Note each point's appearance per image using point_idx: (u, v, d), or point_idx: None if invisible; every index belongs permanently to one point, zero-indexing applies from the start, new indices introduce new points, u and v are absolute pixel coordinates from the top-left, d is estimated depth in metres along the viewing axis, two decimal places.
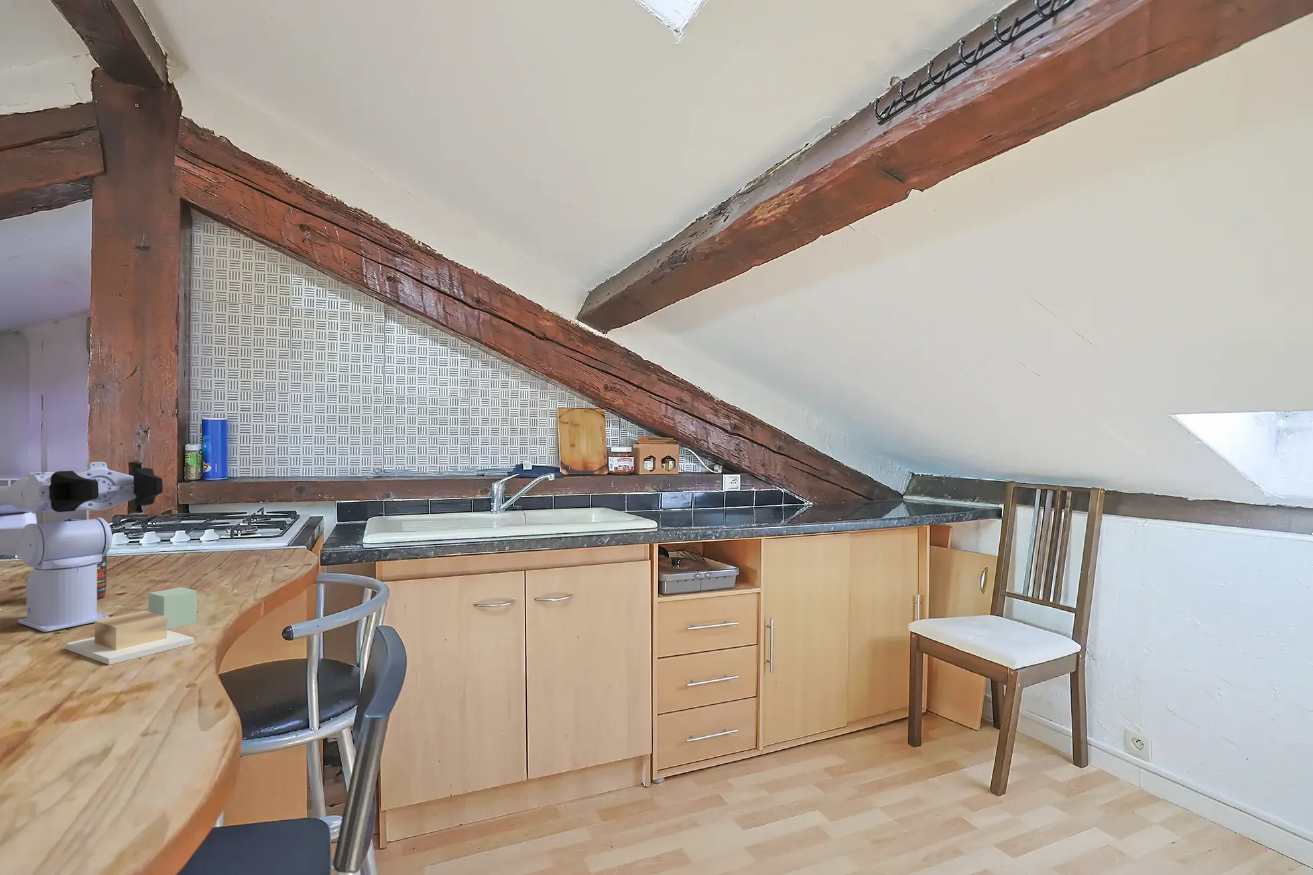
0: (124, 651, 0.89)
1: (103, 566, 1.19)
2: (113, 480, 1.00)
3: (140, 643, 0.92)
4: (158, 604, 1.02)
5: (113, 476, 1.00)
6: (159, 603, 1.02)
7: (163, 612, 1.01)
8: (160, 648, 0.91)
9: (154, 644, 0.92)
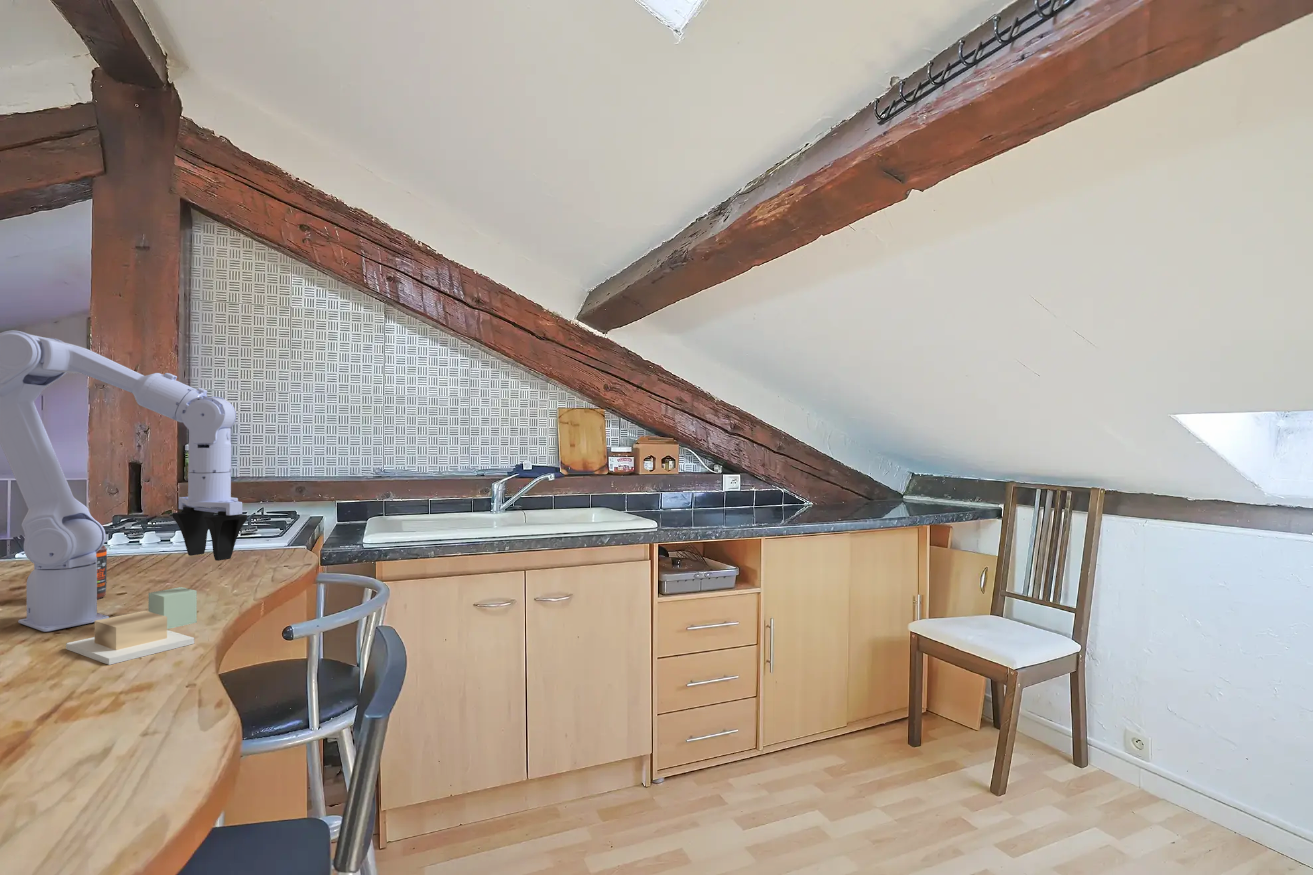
0: (124, 651, 0.89)
1: (103, 566, 1.19)
2: None
3: (140, 643, 0.92)
4: (158, 604, 1.02)
5: None
6: (159, 603, 1.02)
7: (163, 612, 1.01)
8: (160, 648, 0.91)
9: (154, 644, 0.92)
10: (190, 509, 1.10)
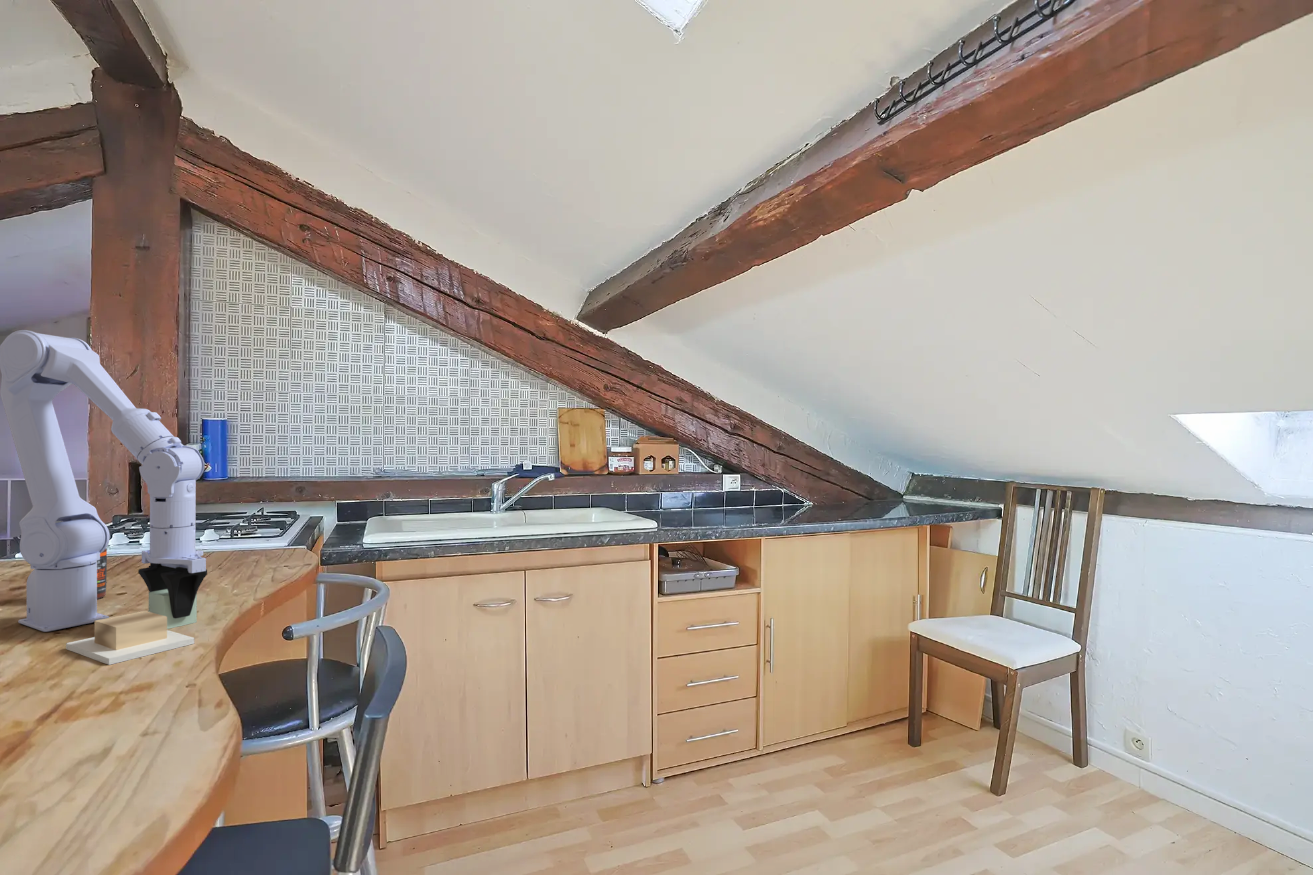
0: (124, 651, 0.89)
1: (103, 566, 1.19)
2: None
3: (140, 643, 0.92)
4: (158, 603, 1.02)
5: None
6: (159, 602, 1.02)
7: (163, 611, 1.01)
8: (160, 648, 0.91)
9: (154, 644, 0.92)
10: (153, 564, 1.05)
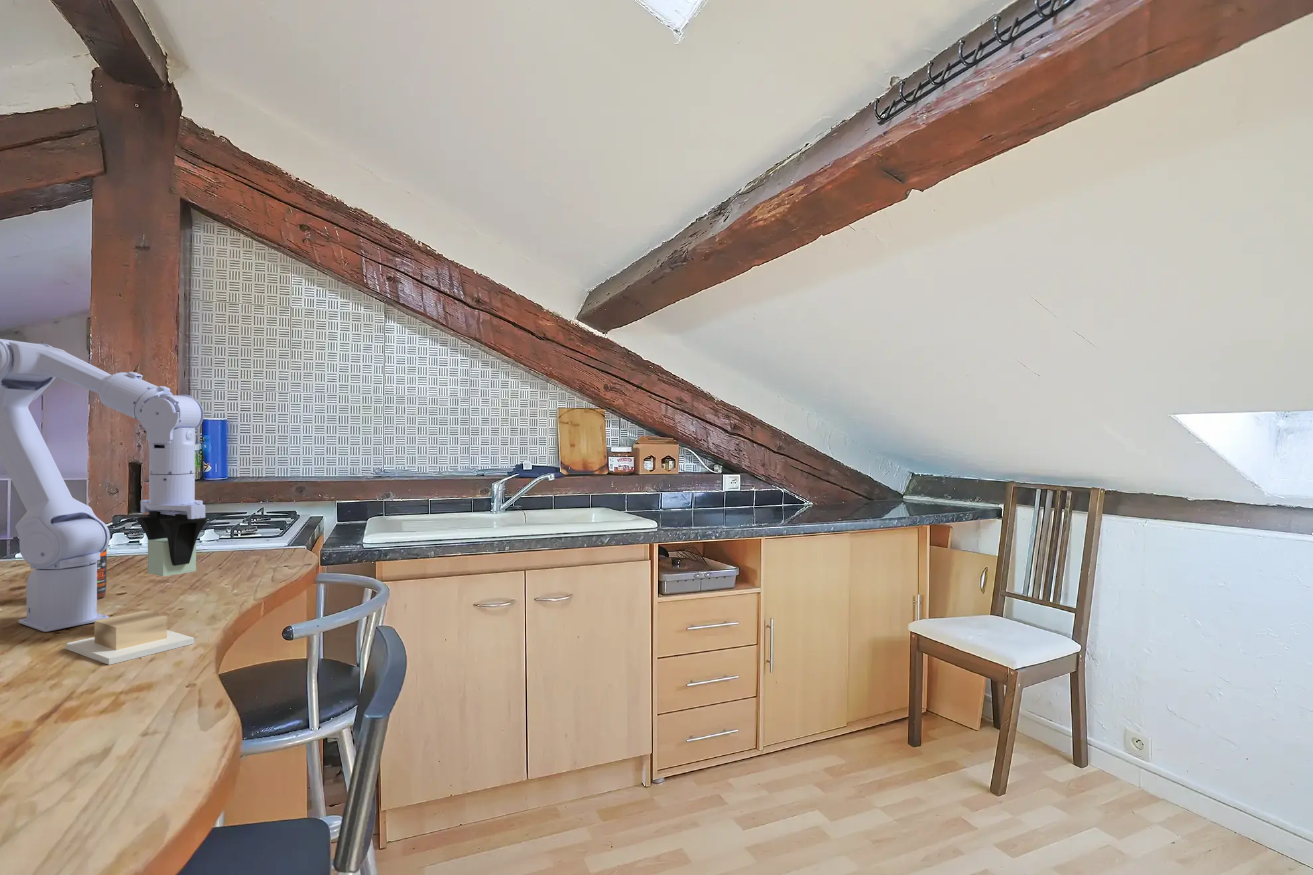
0: (124, 651, 0.89)
1: (103, 566, 1.19)
2: None
3: (140, 643, 0.92)
4: (157, 550, 1.02)
5: None
6: (158, 549, 1.02)
7: (162, 558, 1.01)
8: (160, 648, 0.91)
9: (154, 644, 0.92)
10: (152, 512, 1.05)
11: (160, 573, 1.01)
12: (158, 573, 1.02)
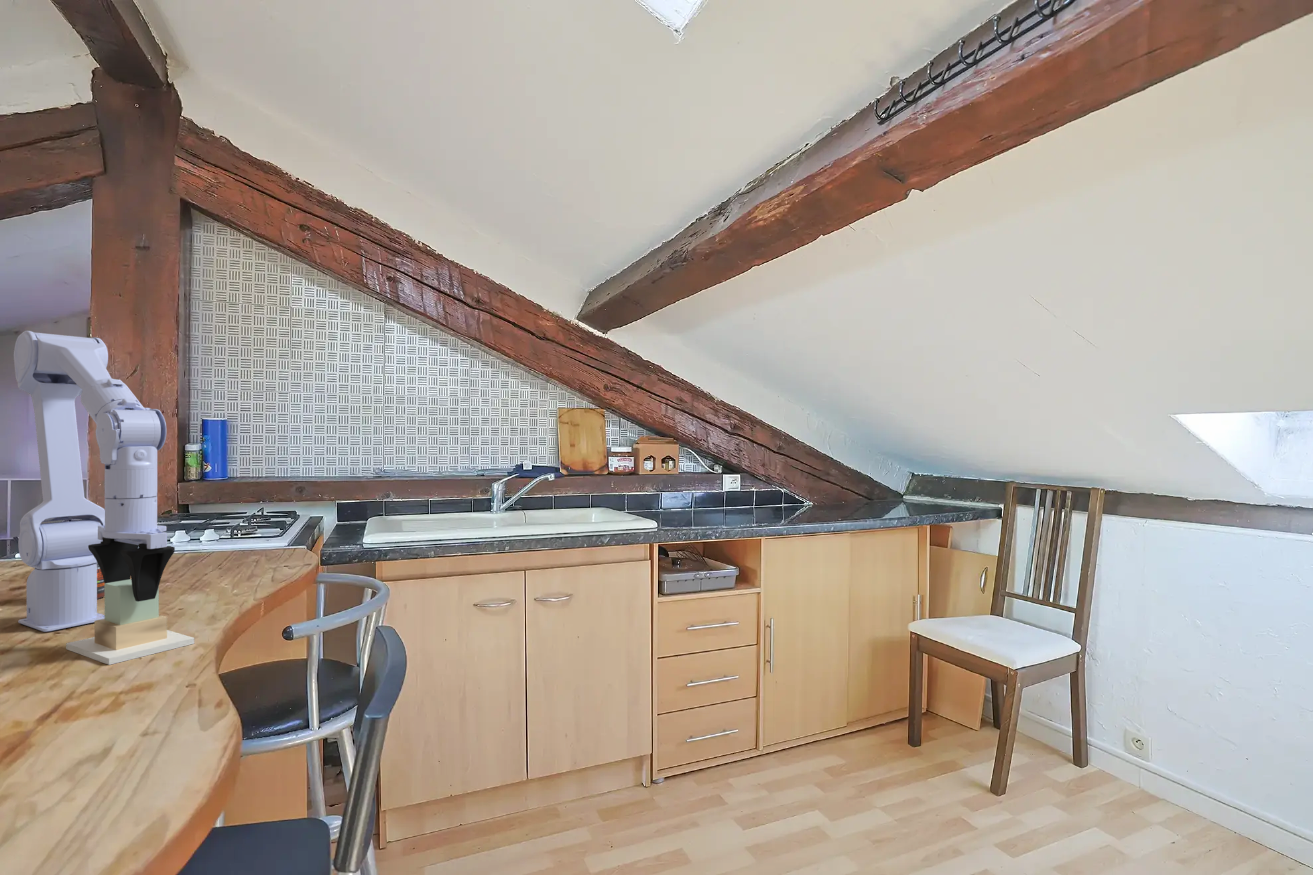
0: (124, 651, 0.89)
1: None
2: None
3: (140, 643, 0.92)
4: (114, 596, 0.91)
5: None
6: (115, 595, 0.91)
7: (119, 604, 0.90)
8: (160, 648, 0.91)
9: (154, 644, 0.92)
10: (110, 540, 0.95)
11: (117, 621, 0.91)
12: (115, 621, 0.91)
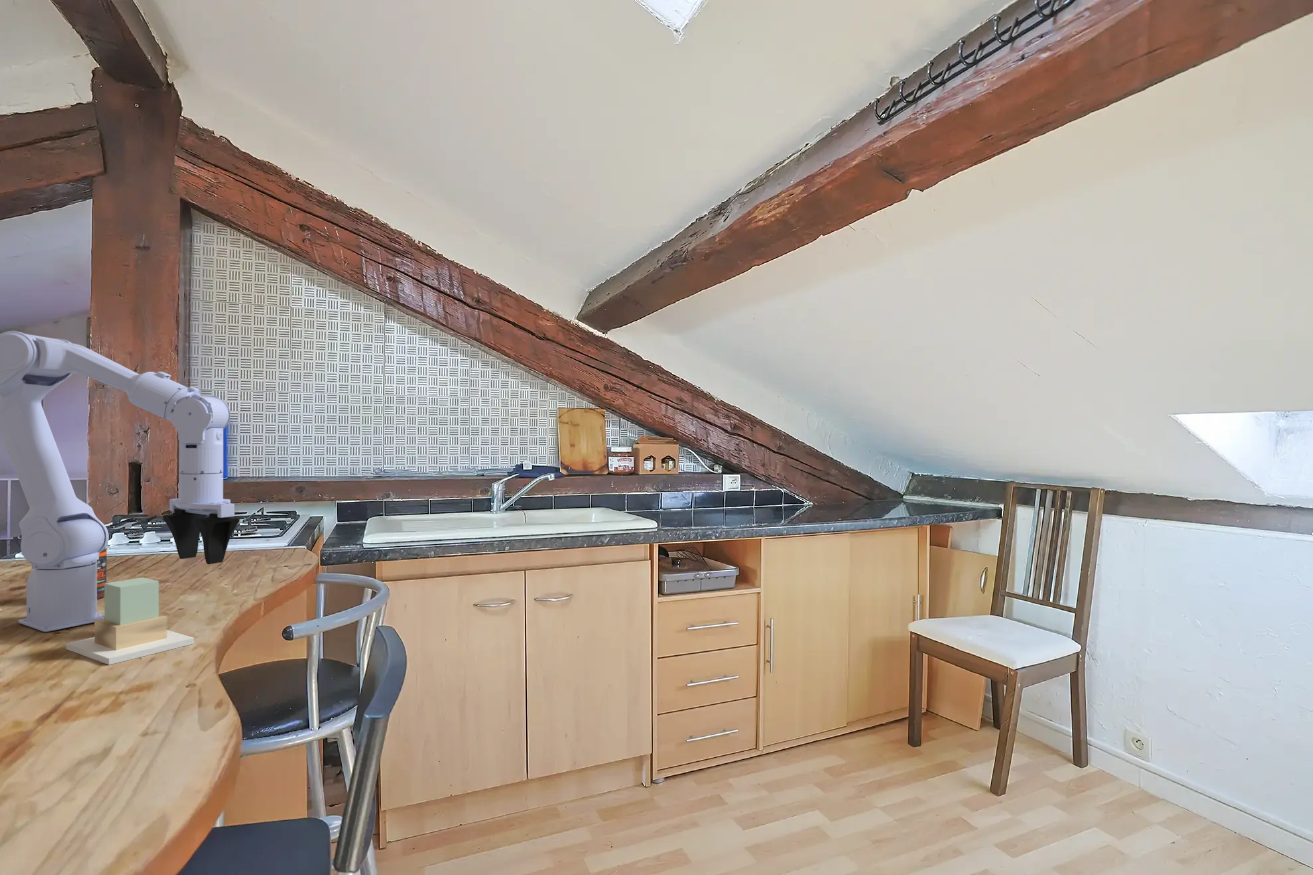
0: (124, 651, 0.89)
1: (103, 566, 1.19)
2: None
3: (140, 643, 0.92)
4: (114, 596, 0.91)
5: None
6: (115, 595, 0.91)
7: (119, 604, 0.90)
8: (160, 648, 0.91)
9: (154, 644, 0.92)
10: (181, 511, 1.07)
11: (117, 621, 0.91)
12: (115, 621, 0.91)
